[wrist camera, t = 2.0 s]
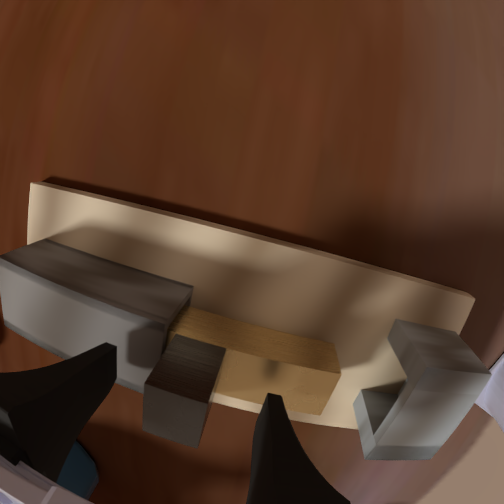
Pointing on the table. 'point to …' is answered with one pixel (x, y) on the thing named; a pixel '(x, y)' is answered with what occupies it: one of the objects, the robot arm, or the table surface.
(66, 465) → the wine bottle
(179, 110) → the table surface
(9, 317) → the grey blocks on plank
